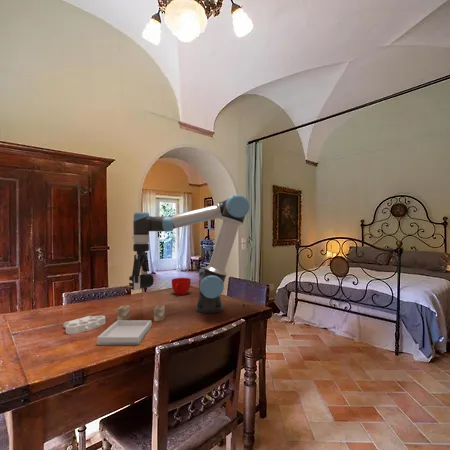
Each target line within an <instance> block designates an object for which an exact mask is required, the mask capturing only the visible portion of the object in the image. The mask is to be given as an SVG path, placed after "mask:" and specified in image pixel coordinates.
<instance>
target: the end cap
mask: <svg viewBox="0 0 450 450" xmlns="http://www.w3.org/2000/svg"><path fill="white" fill-rule="evenodd" d="M139 276H140V290H142V289H147V288H150V287H152V286H153V285H154V280H155V279H154V276H153V275H152V274H151V273H148V274H146V275H145V274H143V275H142V274H139ZM128 280H129V281H131V282H129V283H128V284H129V289H130V290H133V291H135V290H134V276H132V275H130V276H128Z"/></svg>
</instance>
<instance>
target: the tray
mask: <svg viewBox="0 0 450 450" xmlns="http://www.w3.org/2000/svg"><path fill="white" fill-rule="evenodd" d="M152 325H153V324H152V320H150V319H149V320H147V319H146V320H145V319H144V320H140V319H138V320H135V319H134V320H132V319H131V320H129V319H127V320H116V321H115V322H113V323H112V324H111V325H109V326H108V327H107V329H105V330H104V331H103V332H101V333H100V334H99V335H98V336H97V337H96V338H97V339H96V341H97V343H96V345H97V346H138V345H139V344H140V343H141V342H142V340H143V339H144V338H145V336H146V335H147V334H148V333H149V331H150V330H151V329H152V328H153V327H152Z"/></svg>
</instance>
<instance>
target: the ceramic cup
mask: <svg viewBox="0 0 450 450" xmlns="http://www.w3.org/2000/svg"><path fill="white" fill-rule="evenodd" d="M191 280H192V279H191V278H189V277H175V278H173V279H171V288H172V290H173V292H174V293H175V295H177V296H185V295H186V294H188V292H189V290H190V287H191V284H192V283H191V282H192V281H191Z"/></svg>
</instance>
